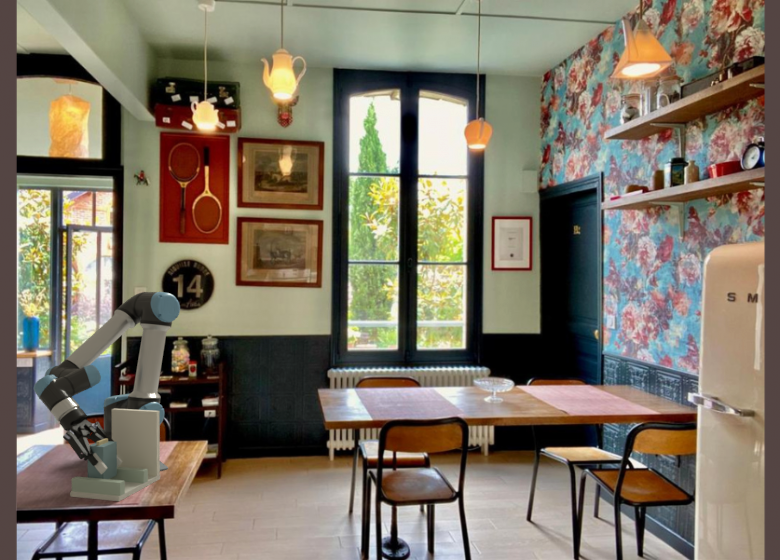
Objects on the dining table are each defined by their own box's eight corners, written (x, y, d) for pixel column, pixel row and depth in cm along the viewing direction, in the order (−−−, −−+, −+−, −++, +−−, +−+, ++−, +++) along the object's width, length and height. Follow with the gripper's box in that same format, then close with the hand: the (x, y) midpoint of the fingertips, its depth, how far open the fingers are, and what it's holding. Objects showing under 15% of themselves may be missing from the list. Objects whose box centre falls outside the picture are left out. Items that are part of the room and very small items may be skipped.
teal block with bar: (101, 473, 184) (101, 437, 184) (116, 475, 182) (116, 438, 183) (87, 479, 178) (87, 442, 178) (103, 481, 177) (103, 443, 177)
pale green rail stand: (115, 475, 194) (115, 408, 194) (160, 478, 190) (159, 410, 190) (70, 496, 175) (70, 422, 175) (119, 501, 171) (118, 425, 171)
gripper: (85, 415, 193) (125, 465, 189) (38, 429, 175) (82, 485, 171) (97, 401, 192) (138, 451, 188) (52, 414, 173) (97, 469, 170)
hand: (111, 467), depth 179 cm, fingers closed on teal block with bar, 6 cm apart
